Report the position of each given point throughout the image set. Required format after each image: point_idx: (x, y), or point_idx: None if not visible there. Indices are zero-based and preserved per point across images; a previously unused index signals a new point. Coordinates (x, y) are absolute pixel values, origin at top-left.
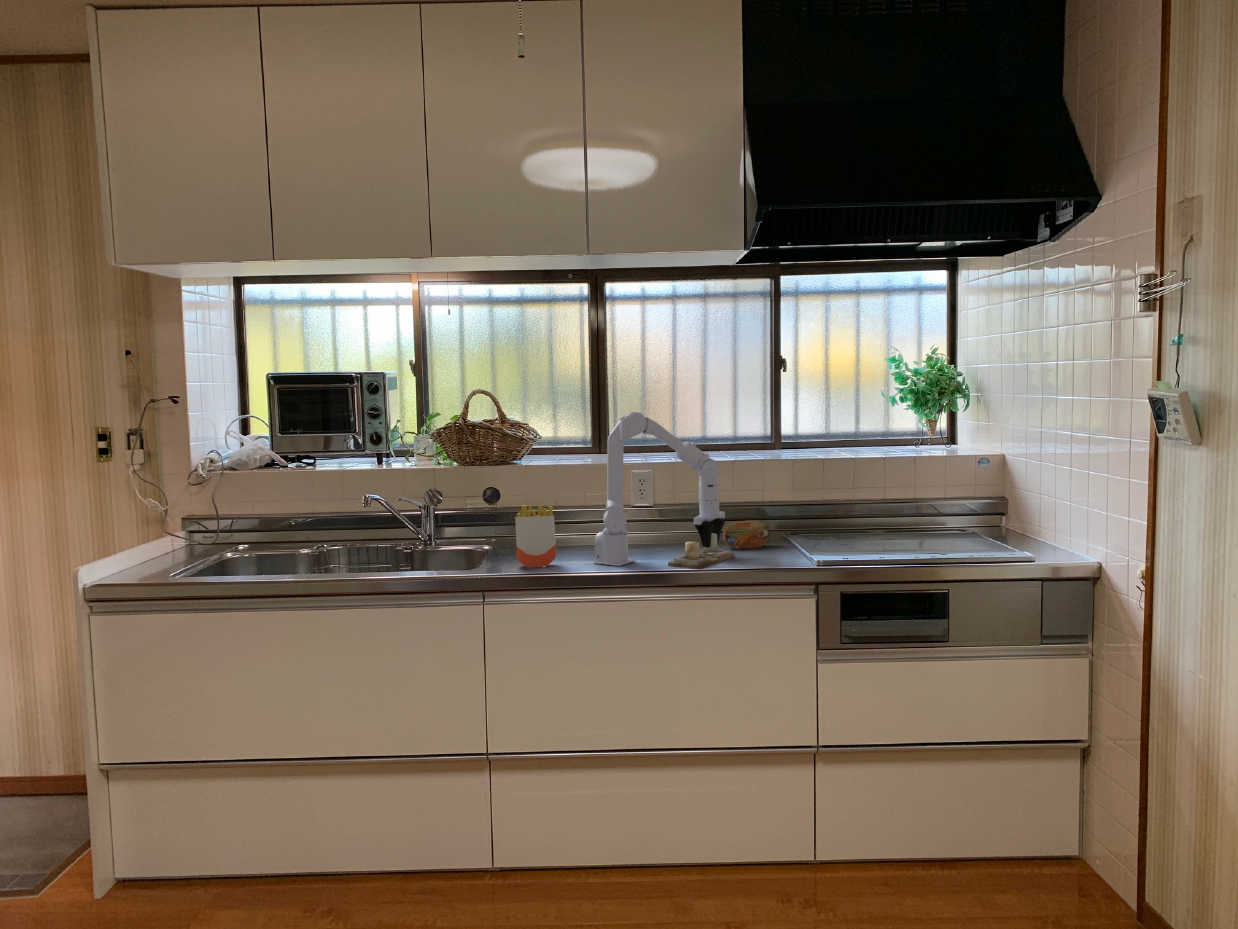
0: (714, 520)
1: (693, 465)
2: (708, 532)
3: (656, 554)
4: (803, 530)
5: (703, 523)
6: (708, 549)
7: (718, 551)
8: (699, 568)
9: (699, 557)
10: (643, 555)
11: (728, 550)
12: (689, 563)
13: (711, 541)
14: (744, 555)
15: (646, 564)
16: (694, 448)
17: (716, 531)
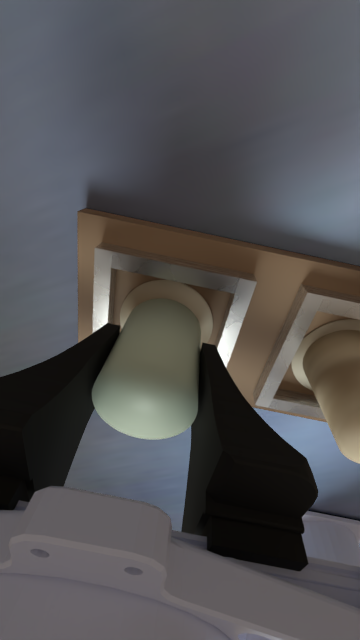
0: (22, 496)
1: None
2: (260, 422)
3: (155, 483)
4: None
5: (299, 547)
6: (200, 343)
7: (110, 302)
8: None
9: (354, 339)
10: (182, 504)
11: (95, 247)
12: None
13: (192, 358)
14: (20, 156)
15: (333, 476)
16: None
17: (82, 388)
